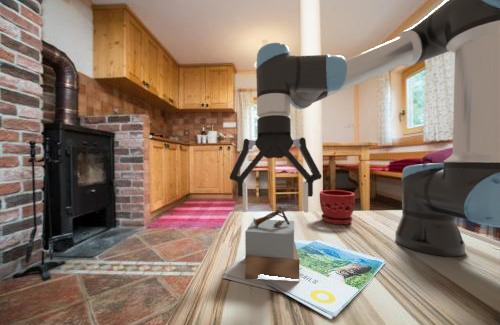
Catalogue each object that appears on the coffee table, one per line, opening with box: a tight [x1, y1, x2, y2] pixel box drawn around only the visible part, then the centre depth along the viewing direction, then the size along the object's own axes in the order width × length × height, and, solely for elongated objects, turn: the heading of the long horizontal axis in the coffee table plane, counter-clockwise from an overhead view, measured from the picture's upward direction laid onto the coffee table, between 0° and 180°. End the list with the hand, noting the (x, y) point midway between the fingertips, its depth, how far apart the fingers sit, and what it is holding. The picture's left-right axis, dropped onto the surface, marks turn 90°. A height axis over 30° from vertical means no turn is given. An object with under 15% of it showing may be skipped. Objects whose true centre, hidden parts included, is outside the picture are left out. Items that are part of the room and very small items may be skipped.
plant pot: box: [319, 189, 356, 225], centre depth 85 cm, size 13×13×12 cm
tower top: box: [244, 219, 295, 259], centre depth 49 cm, size 10×10×5 cm
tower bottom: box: [244, 241, 300, 280], centre depth 49 cm, size 11×11×5 cm
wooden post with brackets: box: [252, 206, 290, 228], centre depth 48 cm, size 2×8×4 cm, turn 89°
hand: (275, 211), depth 48 cm, fingers open, 13 cm apart
